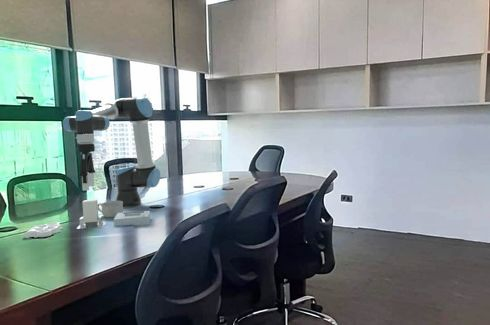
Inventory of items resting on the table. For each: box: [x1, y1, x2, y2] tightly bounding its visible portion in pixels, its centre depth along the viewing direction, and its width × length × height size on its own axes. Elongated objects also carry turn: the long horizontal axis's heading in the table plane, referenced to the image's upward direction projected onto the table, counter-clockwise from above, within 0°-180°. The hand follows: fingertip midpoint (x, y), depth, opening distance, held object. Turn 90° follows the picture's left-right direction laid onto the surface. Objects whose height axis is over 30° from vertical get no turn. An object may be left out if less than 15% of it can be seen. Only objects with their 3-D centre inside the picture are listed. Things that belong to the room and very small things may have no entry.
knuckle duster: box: [22, 222, 64, 239], centre depth 180 cm, size 3×18×15 cm
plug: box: [81, 198, 99, 227], centre depth 189 cm, size 4×6×12 cm, turn 101°
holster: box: [76, 214, 107, 230], centre depth 190 cm, size 10×12×5 cm
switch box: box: [113, 210, 151, 227], centre depth 195 cm, size 14×16×4 cm
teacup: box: [98, 200, 124, 219], centre depth 209 cm, size 14×11×8 cm
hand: (88, 188), depth 188 cm, fingers open, 13 cm apart
